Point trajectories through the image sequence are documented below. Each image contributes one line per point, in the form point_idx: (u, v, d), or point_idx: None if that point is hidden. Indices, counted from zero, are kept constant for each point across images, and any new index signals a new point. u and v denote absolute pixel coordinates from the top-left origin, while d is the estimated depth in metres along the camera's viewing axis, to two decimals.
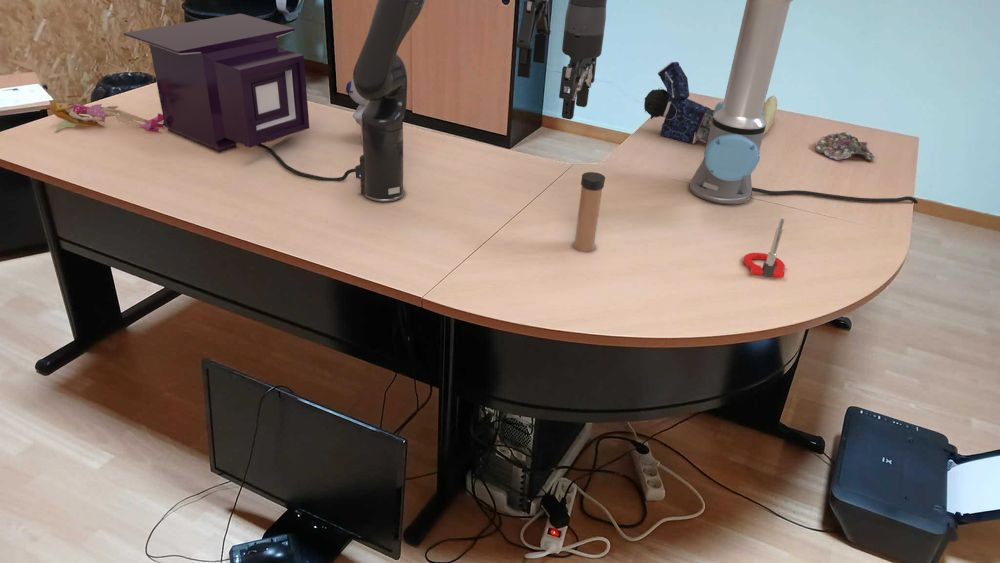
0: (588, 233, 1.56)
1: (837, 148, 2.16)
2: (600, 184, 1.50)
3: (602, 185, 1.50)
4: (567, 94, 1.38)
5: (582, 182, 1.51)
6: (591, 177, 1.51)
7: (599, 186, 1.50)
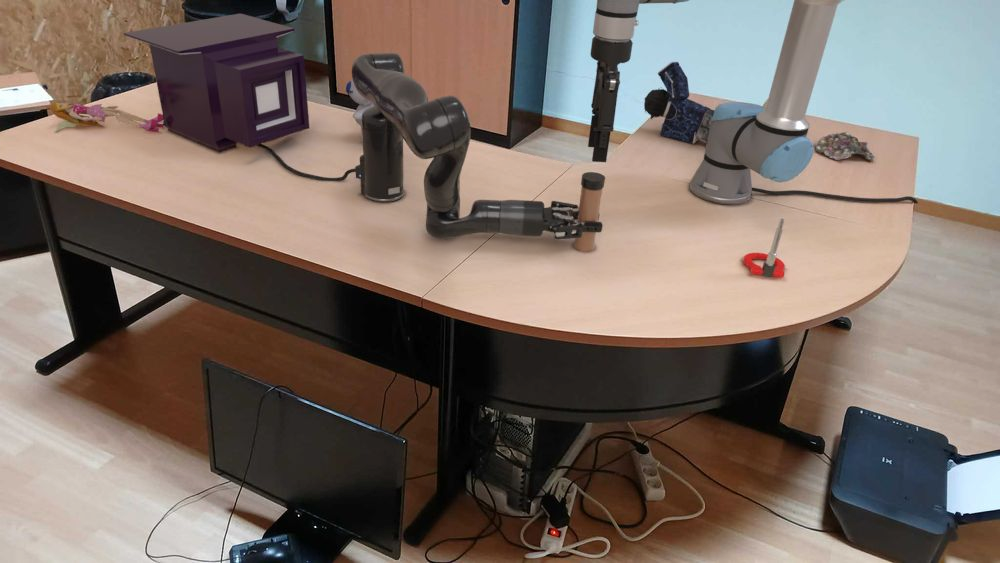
0: (588, 233, 1.56)
1: (837, 148, 2.16)
2: (600, 184, 1.50)
3: (602, 185, 1.50)
4: None
5: (582, 182, 1.51)
6: (591, 177, 1.51)
7: (599, 186, 1.50)
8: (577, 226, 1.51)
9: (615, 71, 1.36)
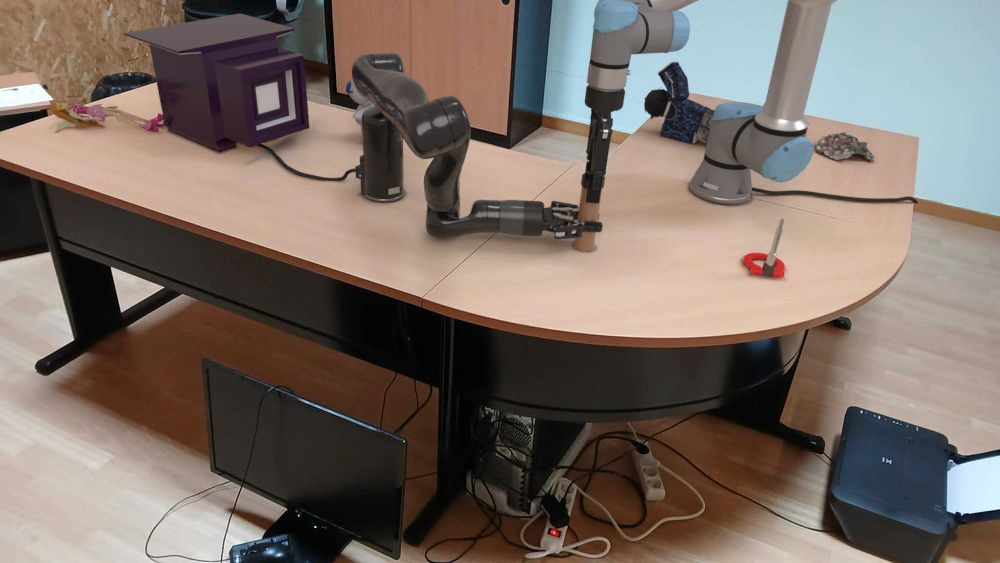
0: (588, 233, 1.56)
1: (837, 148, 2.16)
2: None
3: (602, 185, 1.50)
4: None
5: (582, 182, 1.51)
6: None
7: None
8: (577, 226, 1.51)
9: (608, 119, 1.40)
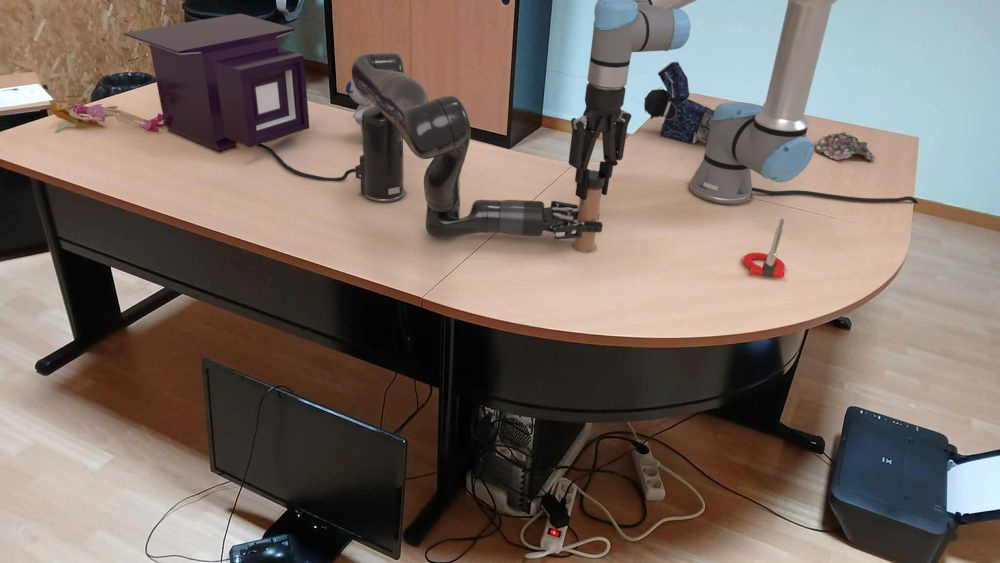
0: (588, 233, 1.56)
1: (837, 148, 2.16)
2: None
3: None
4: None
5: (602, 183, 1.50)
6: (597, 175, 1.51)
7: None
8: (577, 226, 1.51)
9: None
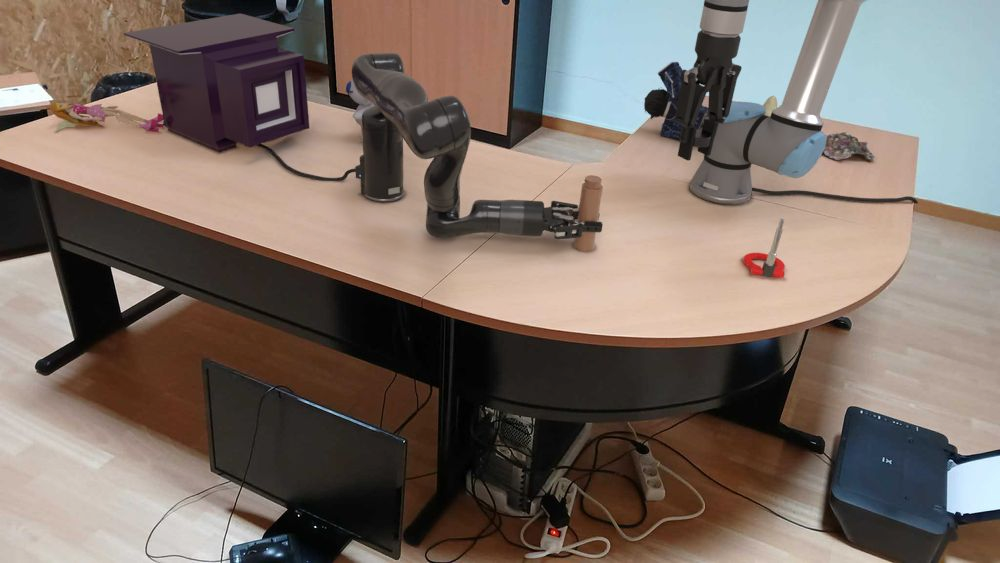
0: (588, 233, 1.56)
1: (837, 148, 2.16)
2: None
3: None
4: None
5: (708, 142, 1.40)
6: (702, 133, 1.40)
7: None
8: (577, 226, 1.51)
9: None
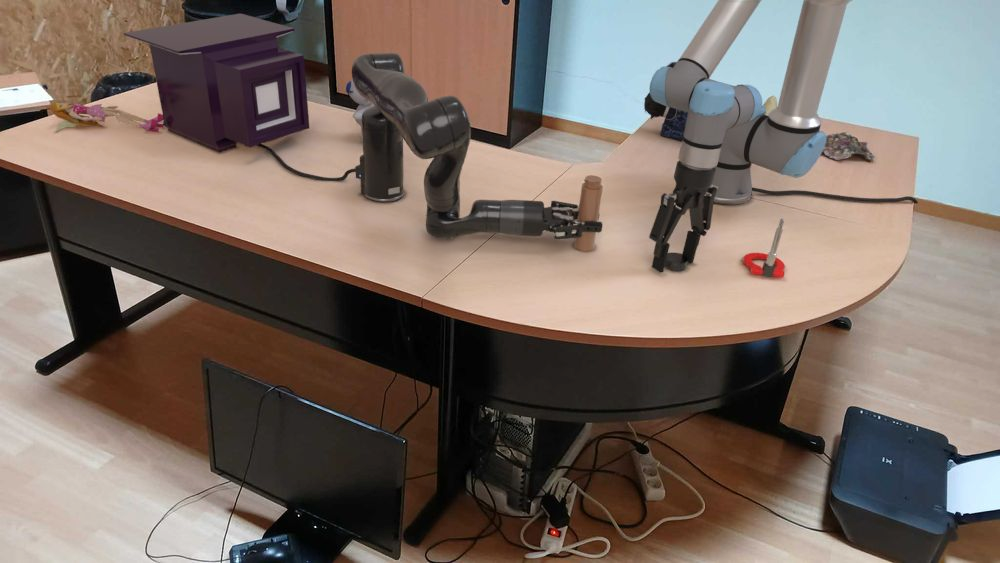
0: (588, 233, 1.56)
1: (837, 148, 2.16)
2: None
3: None
4: None
5: (685, 266, 1.53)
6: (679, 258, 1.54)
7: None
8: (577, 226, 1.51)
9: None
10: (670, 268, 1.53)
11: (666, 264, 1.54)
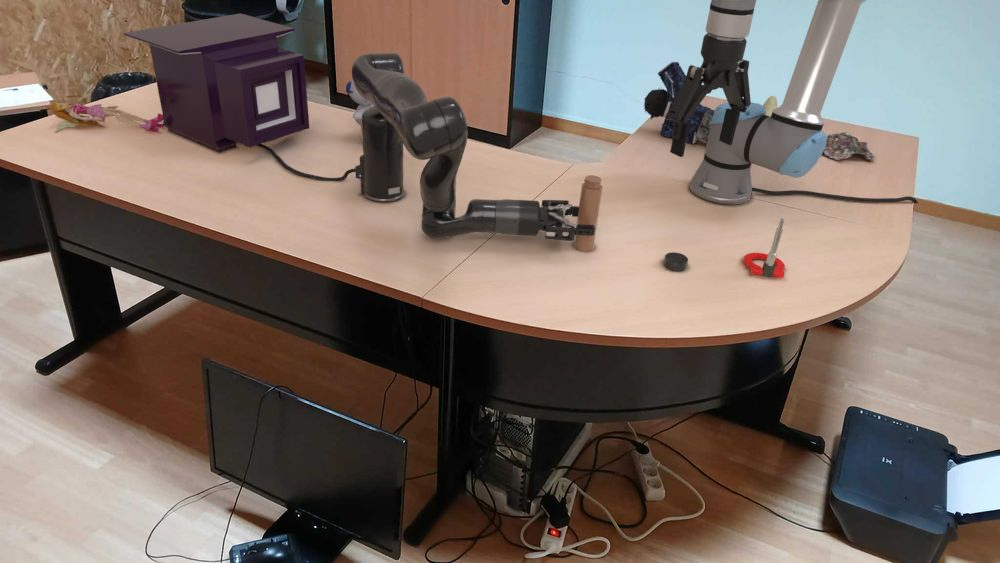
0: None
1: (837, 148, 2.16)
2: None
3: None
4: None
5: (685, 266, 1.53)
6: (679, 258, 1.54)
7: None
8: (569, 229, 1.50)
9: None
10: (670, 268, 1.53)
11: (666, 264, 1.54)
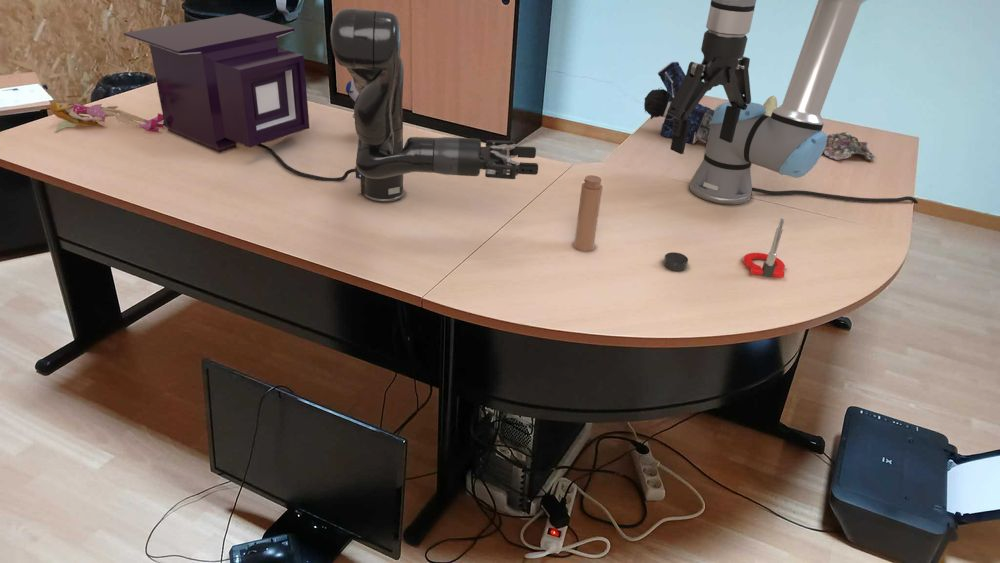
0: (588, 233, 1.56)
1: (837, 148, 2.16)
2: None
3: None
4: None
5: (685, 266, 1.53)
6: (679, 258, 1.54)
7: None
8: (510, 166, 1.42)
9: None
10: (670, 268, 1.53)
11: (666, 264, 1.54)
